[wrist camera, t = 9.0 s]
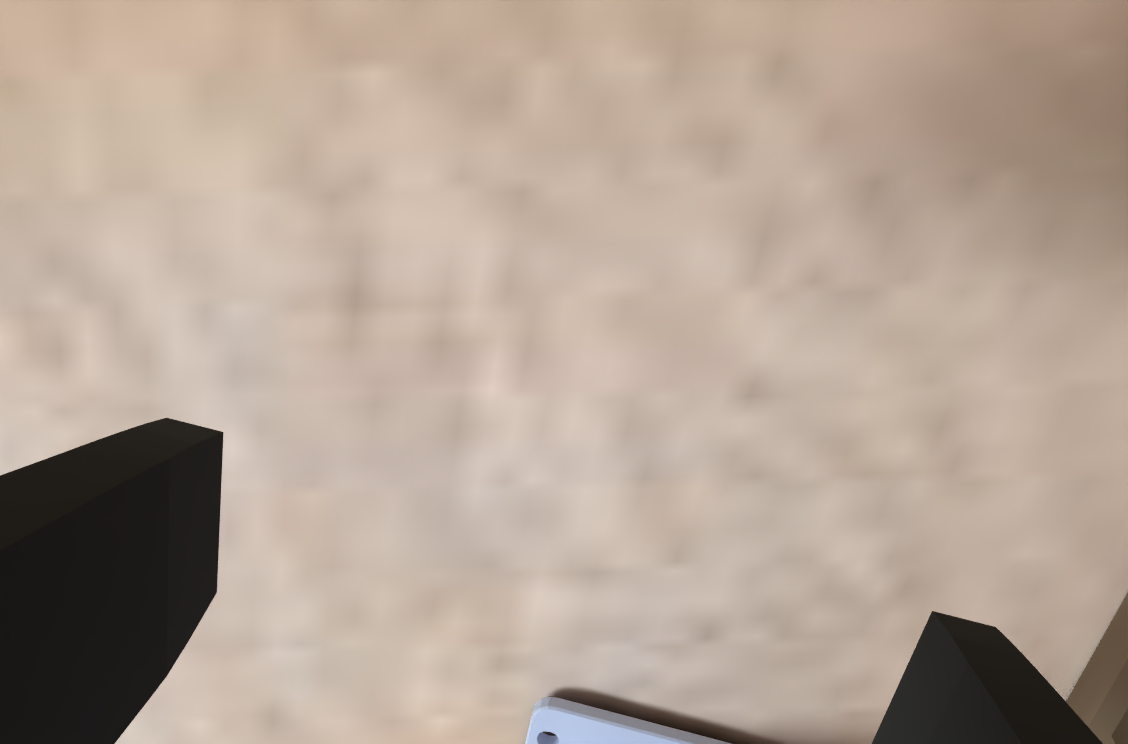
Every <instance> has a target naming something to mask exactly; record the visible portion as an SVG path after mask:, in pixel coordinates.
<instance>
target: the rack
mask: <svg viewBox="0 0 1128 744" xmlns="http://www.w3.org/2000/svg"><path fill="white" fill-rule="evenodd" d="M1066 703H1067V704H1068V705H1069V706H1070V707H1071V708H1072V709H1073V710H1074V712H1075V713H1076V714H1077V715H1078V716H1079V717H1080V718H1081V719H1082V721H1083V722H1084V723H1085V724H1086V725H1087V726H1088V727H1089V728H1090V730H1091V731H1092V732H1093V733H1094V734H1095V735H1096V736H1097V737H1098V739H1099V740H1100V741H1101V742H1102V743H1103V744H1128V593H1127V595H1126V597H1125V598H1124V600H1123V602H1122V604H1121V606H1120V607H1119V609H1118V611H1117V613H1116V614H1115V616H1114V618H1113V620H1112V622H1111V623H1110V625H1109V627H1108V629H1107V630H1106V632H1105V634H1104V636H1103V637H1102V639H1101V641H1100V643H1099V645H1098V646H1097V648H1096V650H1095V652H1094V653H1093V655H1092V657H1091V659H1090V661H1089V662H1088V664H1087V666H1086V668H1085V669H1084V671H1083V673H1082V675H1081V677H1080V678H1079V680H1078V682H1077V684H1076V685H1075V687H1074V689H1073V691H1072V693H1071V694H1070V696H1069V698H1068V700H1067V701H1066Z"/></svg>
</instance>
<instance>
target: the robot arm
mask: <svg viewBox="0 0 1128 744" xmlns="http://www.w3.org/2000/svg"><path fill="white" fill-rule="evenodd" d="M222 451H223V432H221V431H217V430H213V429H209V428H205V427H201V426H197V425H193V424H189V423H185V422H181V421H177V420H173V419H169V418H164V419H161V420H157V421H153V422H150V423H146V424H143V425H140V426H137V427H134V428H131V429H128V430H125V431H122V432H119V433H116V434H114V435H111V436H108V437H105V438H102V439H99V440H97V441H94V442H91V443H88V444H86V445H83V446H80V447H78V448H75V449H72V450H69V451H67V452H64V453H61V454H59V455H56V456H53V457H50V458H48V459H45V460H42V461H39V462H37V463H34V464H31V465H28V466H26V467H23V468H20V469H17V470H15V471H12V472H9V473H6V474H4V475H1V476H0V744H114V743H115V742H116V741H117V740H118V738H119V737H120V736H121V734H122V733H123V732H124V731H125V729H126V728H127V727H128V725H129V724H130V723H131V722H132V720H133V719H134V718H135V716H136V715H137V714H138V713H139V711H140V710H141V709H142V708H143V706H144V705H145V704H146V702H147V701H148V700H149V699H150V697H151V696H152V695H153V693H154V692H155V691H156V689H157V688H158V687H159V685H160V684H161V683H162V682H163V680H164V679H165V678H166V676H167V675H168V673H169V671H170V670H171V668H172V667H173V665H174V663H175V662H176V660H177V659H178V657H179V655H180V654H181V652H182V650H183V649H184V647H185V646H186V644H187V642H188V641H189V639H190V638H191V636H192V634H193V632H194V631H195V629H196V627H197V625H198V624H199V622H200V620H201V619H202V617H203V615H204V613H205V612H206V610H207V608H208V606H209V605H210V603H211V601H212V600H213V598H214V596H215V594H216V593H217V573H218V548H219V524H220V499H221V475H222ZM544 731H546V732H552V733H554V734H556V736H549V735H547V734H544V733H543V732H544ZM525 744H731V743H727V742H724V741H720V740H716V739H712V738H708V737H705V736H701V735H697V734H693V733H690V732H686V731H682V730H678V729H674V728H671V727H667V726H663V725H659V724H656V723H652V722H648V721H644V720H640V719H637V718H633V717H629V716H625V715H621V714H618V713H614V712H610V711H606V710H603V709H599V708H595V707H591V706H587V705H584V704H580V703H576V702H572V701H569V700H565V699H561V698H556V697H547V698H543V699H541V700H540V701H538V702H537V703H536V705H535V707H534V709H533V713H532V717H531V721H530V725H529V729H528V734H527V738H526V742H525ZM872 744H1103V743H1102V742H1101V741H1100V740H1099V739H1098V737H1097V736H1096V735H1095V734H1094V733H1093V732H1092V731H1091V730H1090V728H1089V727H1088V726H1087V725H1086V724H1085V723H1084V722H1083V721H1082V719H1081V718H1080V717H1079V716H1078V715H1077V714H1076V713H1075V712H1074V710H1073V709H1072V708H1071V707H1070V706H1069V705H1068V704H1067V703H1066V702H1065V700H1064V699H1063V698H1062V697H1061V696H1060V695H1059V694H1058V693H1057V691H1056V690H1055V689H1054V688H1053V687H1052V686H1051V685H1050V684H1049V683H1048V681H1047V680H1046V679H1045V678H1044V677H1043V676H1042V675H1041V674H1040V673H1039V672H1038V670H1037V669H1036V668H1035V667H1034V666H1033V665H1032V664H1031V663H1030V662H1029V661H1028V660H1027V658H1026V657H1025V656H1024V655H1023V654H1022V653H1021V652H1020V651H1019V650H1018V649H1017V648H1016V647H1015V646H1014V645H1013V644H1012V643H1011V642H1010V641H1009V640H1008V639H1007V638H1006V637H1005V636H1004V635H1003V634H1002V633H1001V632H1000V631H999V630H998V629H997V628H996V627H993V626H989V625H985V624H981V623H977V622H973V621H969V620H965V619H961V618H957V617H953V616H950V615H946V614H942V613H938V612H934V611H932V613H931V615H930V617H929V619H928V622H927V624H926V626H925V628H924V630H923V633H922V635H921V637H920V639H919V641H918V643H917V646H916V648H915V650H914V652H913V654H912V657H911V659H910V661H909V663H908V665H907V668H906V670H905V672H904V674H903V676H902V679H901V681H900V683H899V685H898V687H897V690H896V692H895V694H894V696H893V698H892V701H891V703H890V705H889V707H888V709H887V711H886V714H885V716H884V718H883V720H882V722H881V725H880V727H879V729H878V731H877V733H876V736H875V738H874V740H873V742H872Z"/></svg>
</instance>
